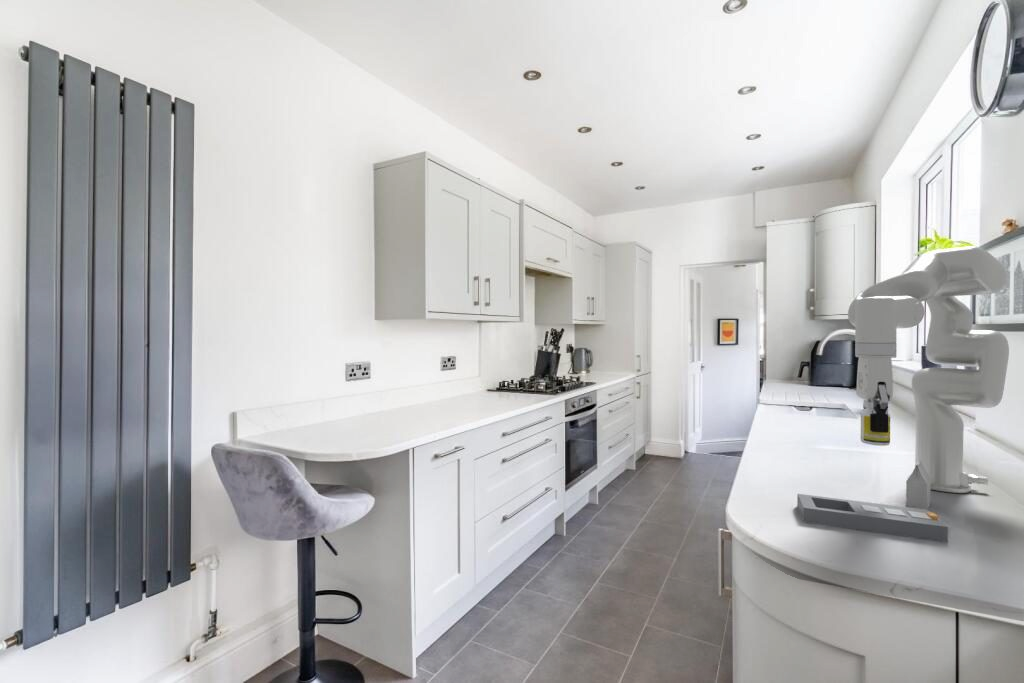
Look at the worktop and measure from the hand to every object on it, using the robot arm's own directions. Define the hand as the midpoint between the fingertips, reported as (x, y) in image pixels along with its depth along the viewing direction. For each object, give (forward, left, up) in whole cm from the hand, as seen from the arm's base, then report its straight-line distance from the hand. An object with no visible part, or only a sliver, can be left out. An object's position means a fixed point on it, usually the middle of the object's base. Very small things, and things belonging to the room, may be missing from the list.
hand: (875, 428), depth 109 cm
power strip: (+4, +11, -19) cm, 22 cm away
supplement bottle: (0, 0, -4) cm, 4 cm away
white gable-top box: (-11, -8, -19) cm, 23 cm away
